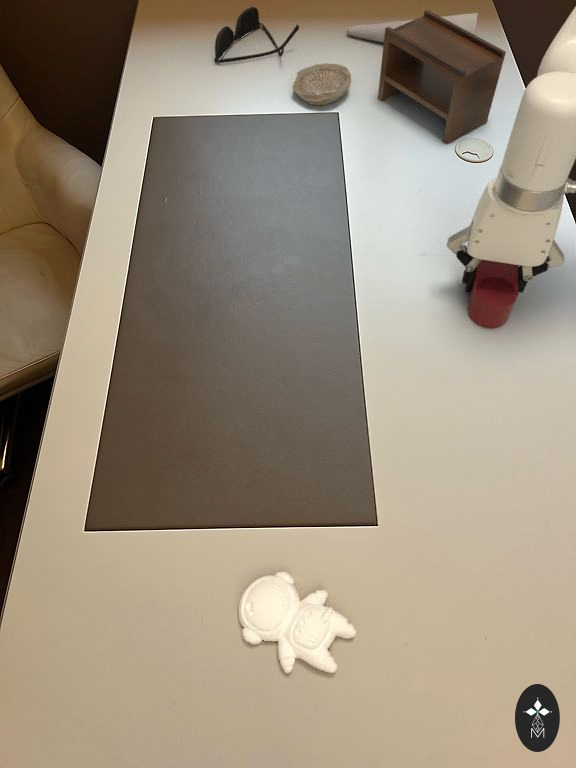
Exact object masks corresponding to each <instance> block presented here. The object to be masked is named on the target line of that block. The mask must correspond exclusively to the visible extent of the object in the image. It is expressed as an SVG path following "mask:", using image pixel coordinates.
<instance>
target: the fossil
mask: <svg viewBox="0 0 576 768" xmlns="http://www.w3.org/2000/svg"><path fill="white" fill-rule="evenodd" d="M351 83H352V74H351V72H350V70H349V69H348V67H347V66H345V65H344V64H338V63H316V64H313V65H310V66H308V67H305V68H302V69H300V70H299V71H297V74H296V77H295V80H294V82H293V85H292V91H293V92H294V93H295V94H296V95H297V96H298V97H299V98H300V99H301V100H303V101H304V102H306V103H308V104H311V105H316V106H324V105H329V104H331V103H333V102H335V101H337V100H338V99H340V98H341V97H342V96H343V95H344V94H345V93H346V92H347V91H348V90H349V88H350V86H351Z"/></svg>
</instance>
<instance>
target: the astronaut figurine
mask: <svg viewBox="0 0 576 768" xmlns="http://www.w3.org/2000/svg"><path fill="white" fill-rule="evenodd" d="M328 597H329V594H328V591H326V590H325V589H318V590H316V591H315V592H311V593H309V594H308V595H307V596H306V597H304V598H303V599H302V600H301V599H300V596H299V593H298V591H297V589H296V587H295V580H294V577H293V576H292V575H291V574H290V573H289V572H286V571H277V572H276V573H275V574H274V575H271V574H268V575H264V576H261V577H259V578H257V579H256V580H254V581H253V582H252V583H250V584H249V585H248V586H247V587H246V589H245V590H244V591H243V593H242V595H241V597H240V600H239V604H238V620H239V623H240V625H241V627H242V626H243V627H244V629H243V627H242V630H241V635H242V638H243V640H244V641H245V642H246V643H248V642H249V643H248V644H250V643H251V644H250V645H259V644H261V643H262V642H265V641H272V642H275V641H278V642H277V656H278V660H279V664H280V666H281V668H282V669H283V671H284V673H285V674H290V673H291V672H293V669H294V667H295V663H296V659H301V660H302V661H304V662H306V663H308V665H310V666H312V668H313V667H314V668H315V669H318V670H321V671H322V672H325V673H330V674H333V673H336V671H337V669H338V664H337V662H336V659H335V658H334V657H333V656H332V655H331V653H330V652H329V650H328V649H329V648H330V646H331V645H332V644H333V642H334V640H335V638H336V637H340V638H342V639H346V640H347V639H352V638H354V637H356V634H357V630H356V628H355V627H354V625H353V623H349V619H348V618H347V617H345V616H344V615H342V614H341V613H339V612H337V611H336V610H334V608H333V607H332V606H325V604H326V602H327V599H328ZM262 640H264V641H262ZM261 641H262V642H261ZM260 642H261V643H260ZM295 658H296V659H295Z"/></svg>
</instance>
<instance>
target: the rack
mask: <svg viewBox="0 0 576 768" xmlns="http://www.w3.org/2000/svg"><path fill="white" fill-rule="evenodd" d="M442 17H443V16H440V15H439V14H436V13H435V12H433V11H431V10H429V9H425V10H424V12H423V15H422V16H420V17H418V18H415V19H412V20H413V21H411V22H408V23H406V24H404V25H401V26H399V27H397V28H395V29H392V28H390V27H386V28H385V35H384V43H383V46H382V54H381V55H382V56H381V63H380V73H379V82H378V83H379V84H378V93H377V99H378V100H379V101H381V102H383V101H385V100H388V99H389V98H392V97H394V96H395V95H398V94H400V93H403V94H404V95H406V96H408V97H409V98H411V99H413V101H415V102H417V103H419V104H420V105H422V106H423V107H424V108H427V109H428V110H430V111H431V112H433V113H435V114H436V115H438V116H439V117H441V118H442V119H444V120H446V123H445V126H444V132H443V137H442V142H443V143H444V144H446V145H449V144H451V143H452V142H454V141H455V140H458V139H460V138H461V137H463V136H465V135H467V134H469V133H471V132H472V131H474V130H477V129H479V128H480V127H482V126H484V125H486V124H487V123H488V120H489V116H490V113H491V108H492V105H493V102H494V98H495V94H496V91H497V87H498V84H499V83H498V82H499V79H500V75H501V71H502V69H503V64H504V62H505V57H506V54H507V53H506V52H507V51H506V50H504V49H502V48H500V47H498V46H496V45H495V44H493V43H490V42H489V41H487V40H486V39H484V38H481V37H480V36H477V34H476V35H474V34H472V33H470V32H468V31H466V30H465V29H463V28H461V27H459V26H457V25H455V24H453V23H451V22H450V21H448V20H446V19H444V18H442Z"/></svg>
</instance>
